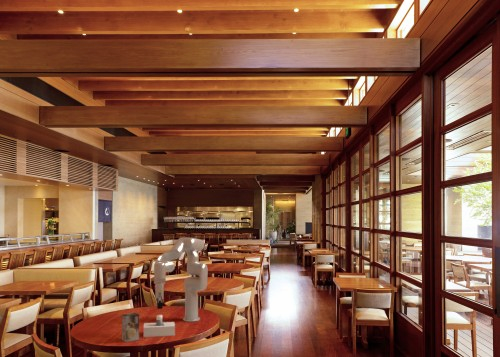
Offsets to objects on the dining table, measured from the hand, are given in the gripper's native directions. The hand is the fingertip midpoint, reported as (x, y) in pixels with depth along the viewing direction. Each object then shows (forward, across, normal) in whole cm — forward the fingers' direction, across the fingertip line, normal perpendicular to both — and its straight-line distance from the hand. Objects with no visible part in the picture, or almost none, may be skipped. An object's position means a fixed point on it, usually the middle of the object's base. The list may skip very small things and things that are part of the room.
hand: (159, 307), depth 318 cm
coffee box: (+17, +12, -18) cm, 28 cm away
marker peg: (+18, +1, 0) cm, 18 cm away
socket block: (+18, +1, 0) cm, 18 cm away
